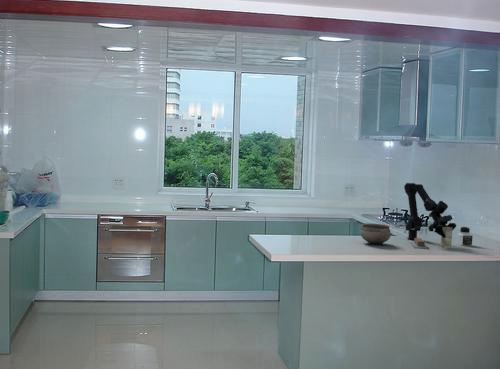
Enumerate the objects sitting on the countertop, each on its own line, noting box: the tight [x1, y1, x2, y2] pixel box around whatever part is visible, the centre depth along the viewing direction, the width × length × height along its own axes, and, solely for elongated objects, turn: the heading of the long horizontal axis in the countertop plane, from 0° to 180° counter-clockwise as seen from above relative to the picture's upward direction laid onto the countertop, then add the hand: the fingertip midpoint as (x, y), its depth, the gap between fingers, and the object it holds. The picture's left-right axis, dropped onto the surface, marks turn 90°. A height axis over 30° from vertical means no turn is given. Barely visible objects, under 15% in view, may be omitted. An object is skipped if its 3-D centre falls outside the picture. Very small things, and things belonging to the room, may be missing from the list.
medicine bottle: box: [456, 226, 474, 247], centre depth 399 cm, size 7×7×12 cm
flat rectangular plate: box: [409, 237, 430, 250], centre depth 385 cm, size 20×9×4 cm, turn 173°
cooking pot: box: [359, 222, 393, 246], centre depth 386 cm, size 25×19×12 cm
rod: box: [440, 227, 453, 249], centre depth 384 cm, size 4×4×13 cm
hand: (448, 237), depth 383 cm, fingers closed on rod, 4 cm apart
